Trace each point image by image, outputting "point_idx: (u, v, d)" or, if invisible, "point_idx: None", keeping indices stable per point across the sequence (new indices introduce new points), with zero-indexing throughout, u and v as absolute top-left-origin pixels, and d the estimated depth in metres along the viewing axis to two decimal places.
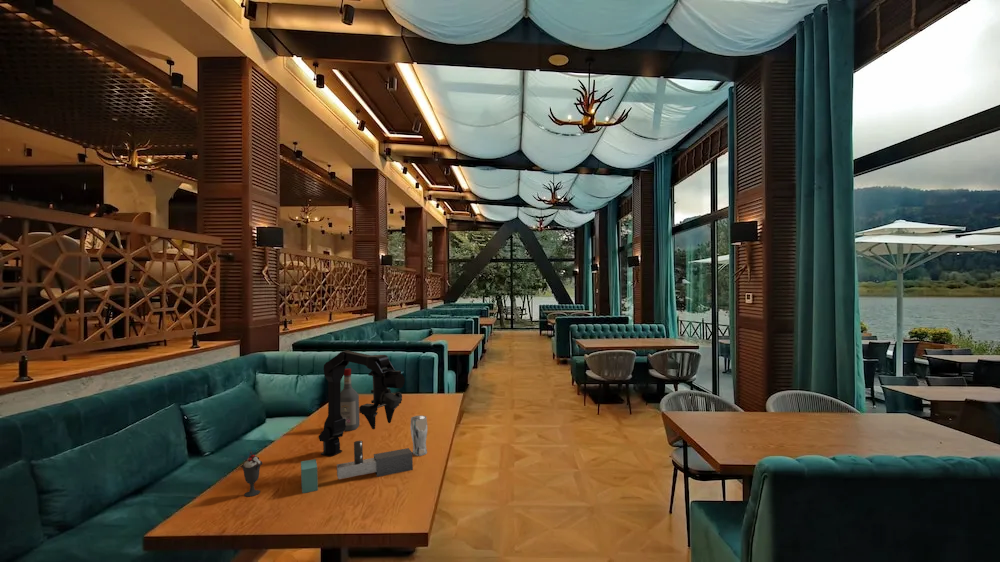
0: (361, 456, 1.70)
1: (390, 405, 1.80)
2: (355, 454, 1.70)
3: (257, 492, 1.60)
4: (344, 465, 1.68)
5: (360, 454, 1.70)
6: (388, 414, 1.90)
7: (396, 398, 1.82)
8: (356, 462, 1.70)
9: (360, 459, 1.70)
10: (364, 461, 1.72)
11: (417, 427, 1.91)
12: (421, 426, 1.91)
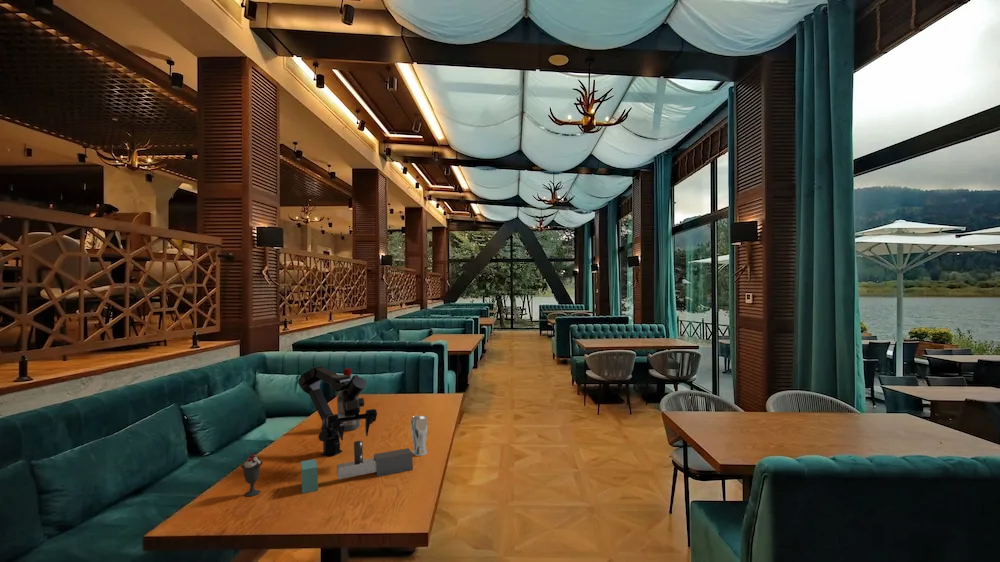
0: (361, 456, 1.70)
1: (347, 407, 1.79)
2: (355, 454, 1.70)
3: (257, 492, 1.60)
4: (344, 465, 1.68)
5: (360, 454, 1.70)
6: (365, 428, 1.83)
7: None
8: (356, 462, 1.70)
9: (360, 459, 1.70)
10: (364, 461, 1.72)
11: (417, 427, 1.91)
12: (421, 426, 1.91)
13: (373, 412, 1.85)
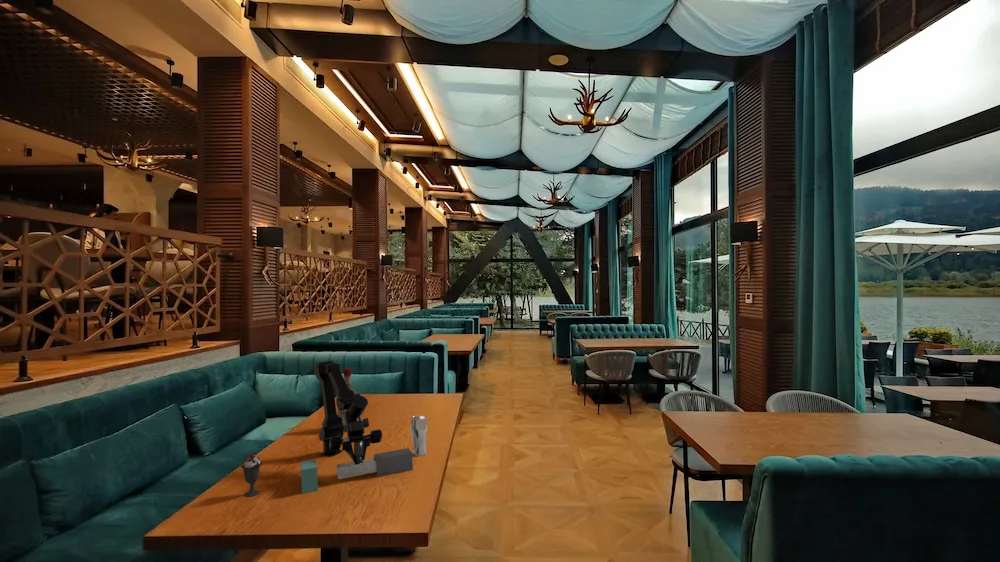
0: (361, 456, 1.70)
1: (351, 428, 1.70)
2: (355, 454, 1.70)
3: (257, 492, 1.60)
4: (344, 465, 1.68)
5: (360, 454, 1.70)
6: None
7: None
8: (356, 462, 1.70)
9: (360, 459, 1.70)
10: (364, 461, 1.72)
11: (417, 427, 1.91)
12: (421, 426, 1.91)
13: (378, 433, 1.77)
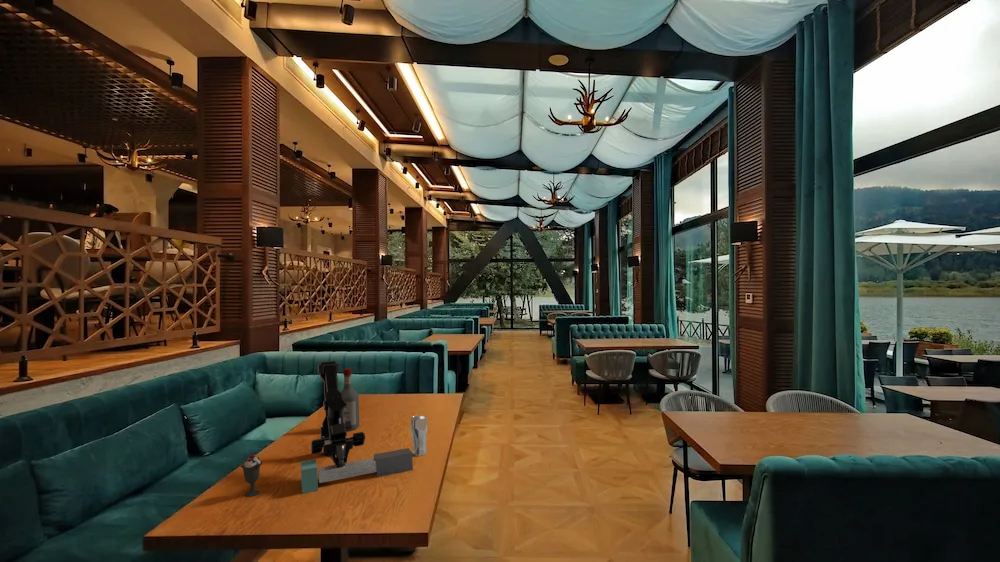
0: (343, 459, 1.68)
1: (332, 431, 1.68)
2: (337, 457, 1.67)
3: (257, 492, 1.60)
4: (326, 468, 1.66)
5: (342, 457, 1.67)
6: None
7: (340, 424, 1.70)
8: (338, 465, 1.67)
9: (342, 462, 1.67)
10: (346, 464, 1.69)
11: (417, 427, 1.91)
12: (421, 426, 1.91)
13: (361, 435, 1.74)
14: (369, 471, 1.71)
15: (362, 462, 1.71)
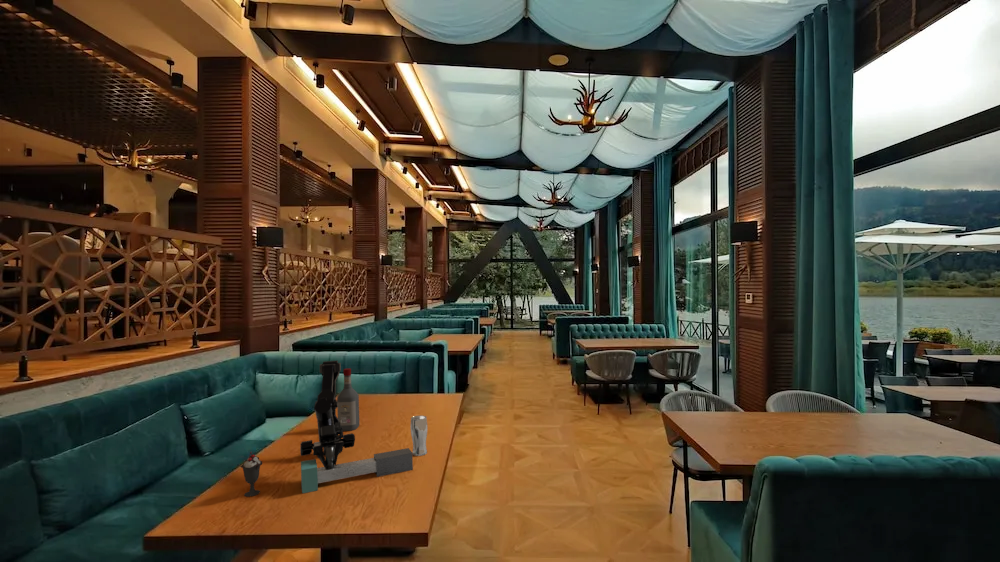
0: (332, 461, 1.66)
1: (321, 433, 1.66)
2: (326, 459, 1.66)
3: (257, 492, 1.60)
4: None
5: (331, 459, 1.66)
6: (334, 456, 1.69)
7: (329, 425, 1.68)
8: (327, 467, 1.65)
9: (331, 464, 1.66)
10: (336, 466, 1.68)
11: (417, 427, 1.91)
12: (421, 426, 1.91)
13: (351, 437, 1.72)
14: (359, 473, 1.69)
15: (352, 464, 1.69)
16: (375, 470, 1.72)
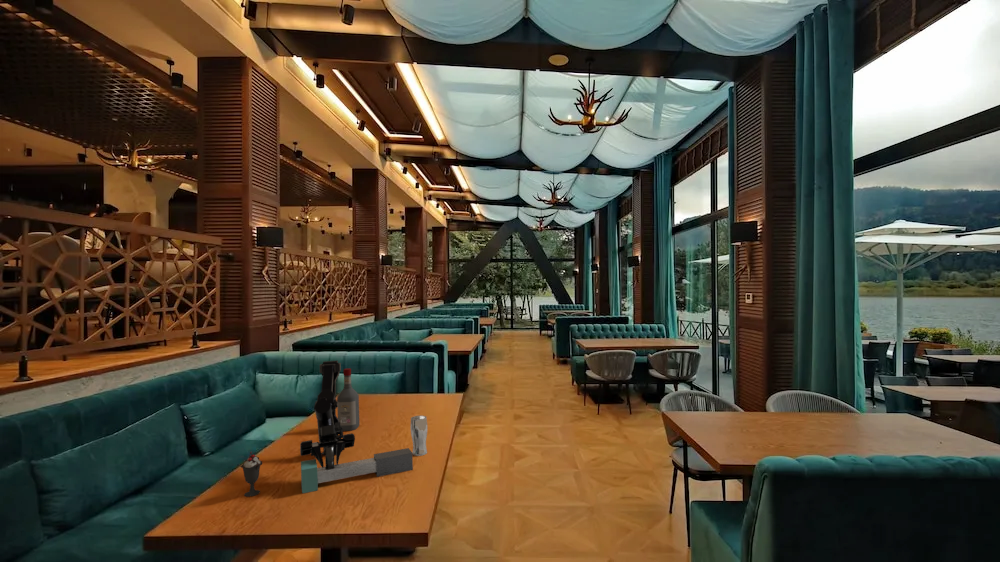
0: (332, 461, 1.66)
1: (321, 433, 1.66)
2: (326, 459, 1.66)
3: (257, 492, 1.60)
4: None
5: (331, 459, 1.66)
6: (336, 456, 1.69)
7: (329, 425, 1.68)
8: (327, 467, 1.65)
9: (331, 464, 1.66)
10: (336, 466, 1.68)
11: (417, 427, 1.91)
12: (421, 426, 1.91)
13: (351, 437, 1.72)
14: (359, 473, 1.69)
15: (352, 464, 1.69)
16: (375, 470, 1.72)
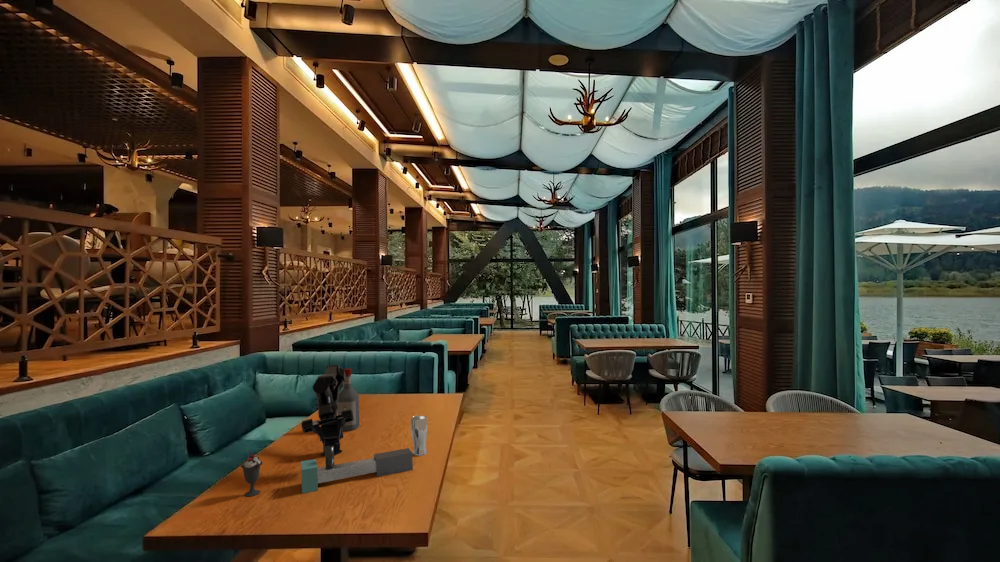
0: (332, 461, 1.66)
1: (319, 412, 1.75)
2: (326, 459, 1.66)
3: (257, 492, 1.60)
4: None
5: (331, 459, 1.66)
6: (337, 431, 1.79)
7: (325, 405, 1.76)
8: (327, 467, 1.65)
9: (331, 464, 1.66)
10: (336, 466, 1.68)
11: (417, 427, 1.91)
12: (421, 426, 1.91)
13: (348, 413, 1.81)
14: (359, 473, 1.69)
15: (352, 464, 1.69)
16: (375, 470, 1.72)
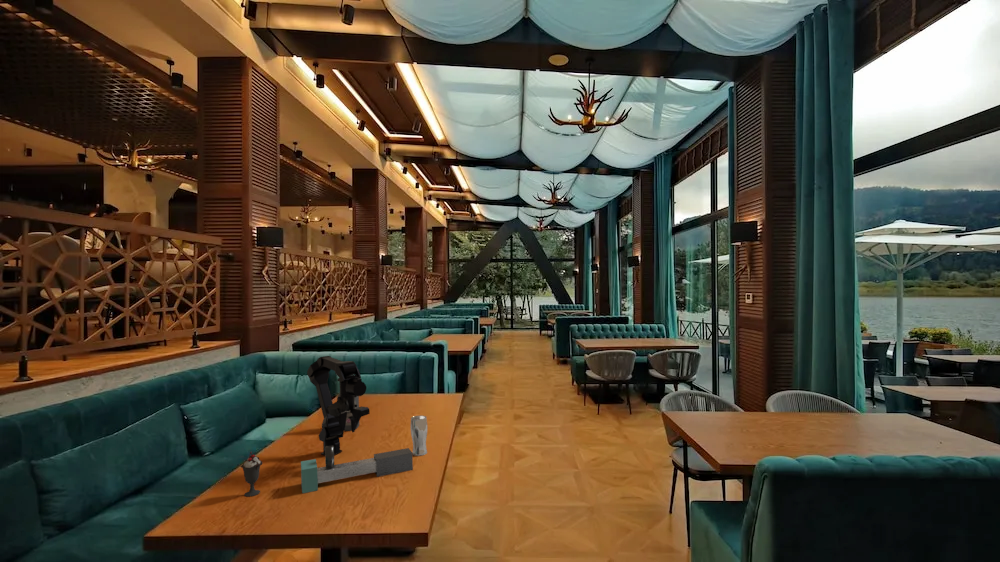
0: (332, 461, 1.66)
1: None
2: (326, 459, 1.66)
3: (257, 492, 1.60)
4: None
5: (331, 459, 1.66)
6: None
7: (333, 407, 1.81)
8: (327, 467, 1.65)
9: (331, 464, 1.66)
10: (336, 466, 1.68)
11: (417, 427, 1.91)
12: (421, 426, 1.91)
13: (356, 415, 1.82)
14: (359, 473, 1.69)
15: (352, 464, 1.69)
16: (375, 470, 1.72)
